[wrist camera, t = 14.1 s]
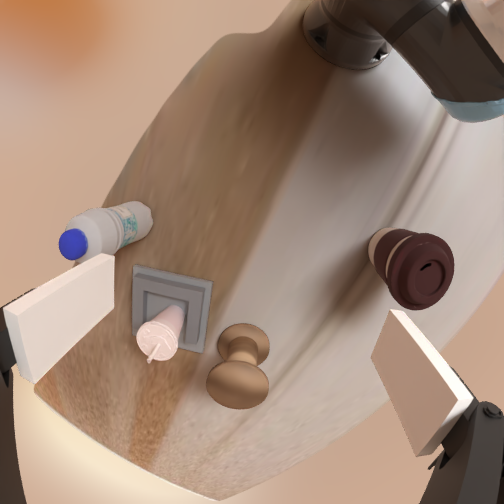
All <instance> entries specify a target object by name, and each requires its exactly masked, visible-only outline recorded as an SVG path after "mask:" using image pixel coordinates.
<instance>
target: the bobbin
mask: <svg viewBox="0 0 504 504" xmlns="http://www.w3.org/2000/svg"><path fill="white" fill-rule="evenodd" d="M218 349H219V353H220V355H221V356H222V358H223V359H224V360H225V362H222V363H220V364H218V365H216V366H215V367H213V369H212V370H211V371H210V372H209V375H208V378H207V382H206V387H207V391H208V393H209V395H210V396H211V397H212V398H213V399H214V400H215V401H216V402H217V403H219V404H221V405H223V406H225V407H228V408H232V409H249V408H252V407H255V406H257V405H259V404H260V403H262V402H263V401H264V400H265V398H266V397H267V395H268V390H269V383H268V379H267V376H266V375H265V373H264V372H263V371H262V370H261V369H260V368H258V367H257V366H258V365H259V364H261V363H262V362H263V361H264V360H265V359H266V358H267V356H268V354H269V340H268V337H267V336H266V334H265V333H264V332H263V331H262V330H261V329H259V328H258V327H256V326H254V325H251V324H244V323H241V324H235V325H232V326H230V327H228V328H227V329H225V330H224V331H223V333H222V334H221V336H220V339H219V342H218Z"/></svg>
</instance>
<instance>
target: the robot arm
mask: <svg viewBox="0 0 504 504" xmlns="http://www.w3.org/2000/svg"><path fill="white" fill-rule="evenodd" d="M303 32H304V35H305V38H306V40H307V42H308V43H309V45H310V46H311V47H312V48H313V50H314V51H315V52H317V53H318V54H319V55H320V56H321V57H323V58H324V59H326V60H327V61H329V62H331V63H333V64H335V65H338V66H340V67H344V68H348V69H356V70H361V69H368V68H372V67H374V66H377V65H378V64H380V63H381V62H382V61H383V60H384V59H385V58H386V57H387V56H388V55H389V53H390V52H391V49H392V47H393V48H394V49H395V50H396V51H397V52H398V53H399V55H400V56H401V57H402V58H403V59H404V60H405V61H406V62H407V63H408V64H409V65H410V66H411V68H412V69H413V70H414V71H415V72H416V73H417V75H418V76H419V77H420V78H421V79H422V80H423V82H424V83H425V84H426V85H427V87H428V88H429V89H430V90H431V94H432V95H433V96H434V98H436V99H437V100H438V101H439V102H440V103H441V104H442V105H443V107H444V108H445V109H446V110H447V112H448V113H449V114H450V115H451V116H452V117H453V118H455V119H458V120H459V121H462V122H467V123H475V122H483V121H487V120H491V119H494V118H497V117H499V116H501V115H503V114H504V0H456V1H454V0H314V1H313V2H312V3H311V4H310V5H309V6H308V8H307V9H306V11H305V14H304V19H303ZM114 260H115V256H112V255H108V254H104V253H101V254H99V255H97V256H95V257H93V258H91V259H89V260H87V261H85V262H83V263H81V264H79V265H77V266H76V267H74V268H72V269H70V270H68V271H66V272H65V273H63V274H61V275H59V276H57V277H56V278H53V279H52V280H50V281H48V282H46V283H45V284H43V285H41V286H39V287H37V288H34V289H31V290H30V291H28V292H26V293H24V295H21V296H20V297H18V298H17V299H14V300H12V301H11V302H9V303H7V304H6V305H4V306H2V307H1V308H0V504H27V503H26V499H25V495H24V491H23V486H22V481H21V476H20V470H19V464H18V458H17V450H16V441H15V430H14V414H13V372H12V369H11V367H12V366H13V365H14V364H16V363H17V366H18V369H19V373H20V375H21V376H22V377H23V378H25V379H27V380H28V381H30V382H32V383H33V384H36V383H37V382H38V381H39V380H40V379H41V378H42V377H43V376H44V375H45V374H46V373H47V372H48V371H49V370H50V369H51V368H52V367H53V366H54V365H55V364H56V363H57V362H58V361H59V360H60V359H61V358H62V357H63V356H64V355H65V354H66V353H67V352H68V351H69V350H70V349H71V348H72V347H73V346H74V345H75V344H76V343H77V342H78V341H79V340H80V339H81V338H82V337H83V336H85V335H86V334H87V333H88V332H89V331H90V330H91V329H92V328H93V327H94V326H95V325H96V324H97V323H98V322H99V321H101V320H102V319H103V318H104V317H105V316H106V315H107V314H108V313H109V312H110V311H111V310H113V309H114ZM371 359H372V361H373V363H374V365H375V367H376V369H377V372H378V374H379V376H380V378H381V380H382V382H383V384H384V386H385V388H386V390H387V393H388V395H389V397H390V399H391V401H392V403H393V406H394V408H395V410H396V412H397V414H398V417H399V419H400V421H401V423H402V425H403V428H404V430H405V432H406V435H407V437H408V439H409V442H410V444H411V446H412V449H413V451H414V454H415V456H416V457H418V456H424V455H430V454H432V453H433V452H434V451H435V450H436V449H437V447H438V446H439V445H440V444H442V446H443V448H444V450H443V451H442V453H441V454H440V455H439V456H438V457H437V458H436V459H435V460H434V462H433V463H432V464H431V465H430V466H429V467H428V469H429V470H430V469H431V468H432V467H433V466H435V468H434V471H433V473H432V476H431V478H430V481H429V483H428V485H427V488H426V490H425V492H424V494H423V497H422V499H421V501H420V503H419V504H504V416H503V413H502V411H501V410H500V409H499V408H498V407H497V406H496V405H494V404H492V403H490V402H487V401H485V402H480V403H479V402H478V400H477V399H476V397H475V396H474V395H473V393H472V392H471V391H470V390H469V388H468V387H467V385H466V384H464V382H463V380H462V379H461V378H459V375H458V374H457V373H456V371H455V370H454V369H453V368H452V367H450V366H449V365H448V364H447V363H446V362H445V360H444V359H443V358H442V357H441V355H440V354H439V353H438V352H437V350H436V349H435V348H434V347H433V346H432V344H431V343H430V342H429V341H428V340H427V338H426V337H425V336H424V335H423V334H422V333H421V331H420V330H419V329H418V328H417V327H416V326H415V324H414V323H413V322H412V321H411V320H410V319H409V318H408V316H407V315H406V314H405V313H404V312H403V311H399V310H392V309H390V310H389V313H388V315H387V318H386V321H385V323H384V326H383V328H382V331H381V333H380V336H379V338H378V341H377V343H376V346H375V348H374V350H373V353H372V355H371Z"/></svg>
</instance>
